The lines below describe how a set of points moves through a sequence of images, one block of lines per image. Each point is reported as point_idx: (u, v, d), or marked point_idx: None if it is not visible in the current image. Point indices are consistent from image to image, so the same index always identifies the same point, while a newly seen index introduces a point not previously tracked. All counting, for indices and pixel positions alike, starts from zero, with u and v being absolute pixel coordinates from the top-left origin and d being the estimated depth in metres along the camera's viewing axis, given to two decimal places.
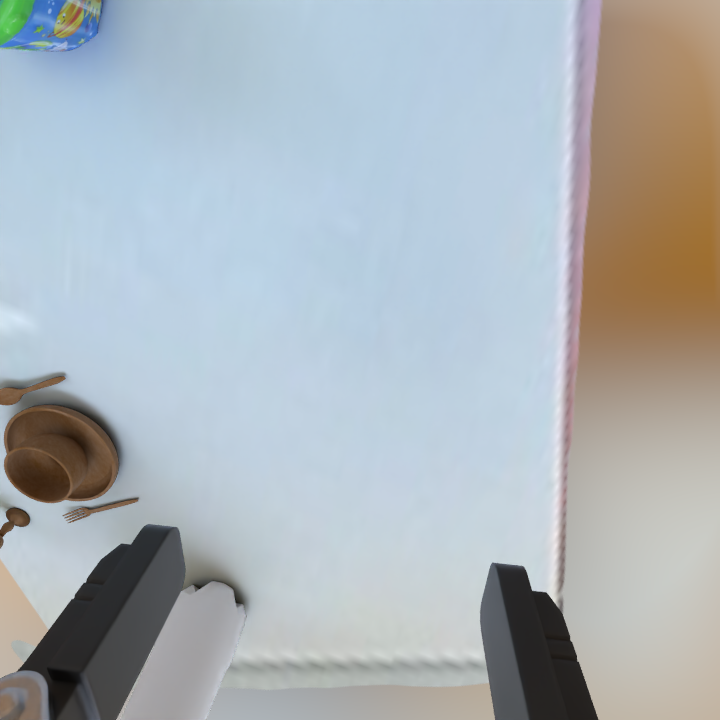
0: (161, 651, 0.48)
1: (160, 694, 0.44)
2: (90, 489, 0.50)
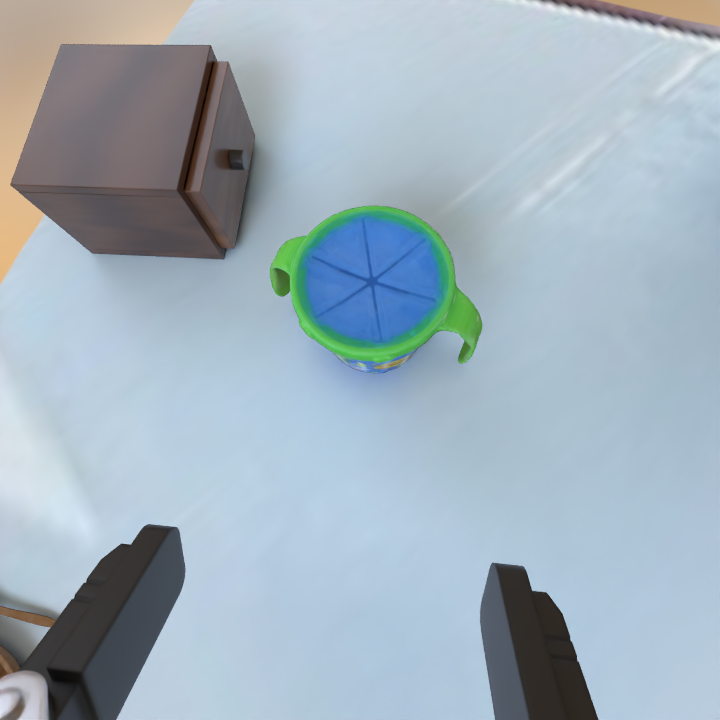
0: None
1: None
2: None
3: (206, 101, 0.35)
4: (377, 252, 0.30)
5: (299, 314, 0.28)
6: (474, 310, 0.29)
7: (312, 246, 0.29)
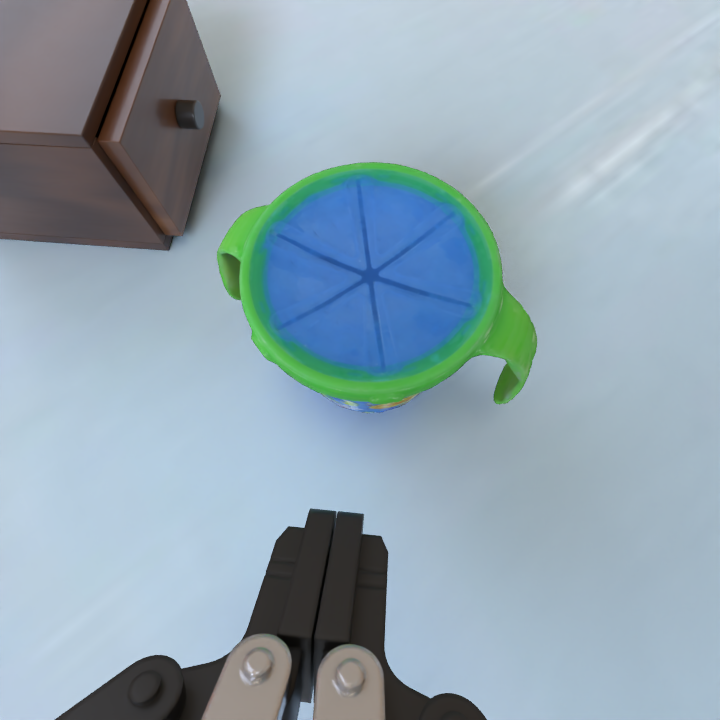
0: None
1: None
2: None
3: (142, 25, 0.25)
4: (378, 231, 0.19)
5: (251, 323, 0.17)
6: (530, 325, 0.18)
7: (279, 218, 0.19)
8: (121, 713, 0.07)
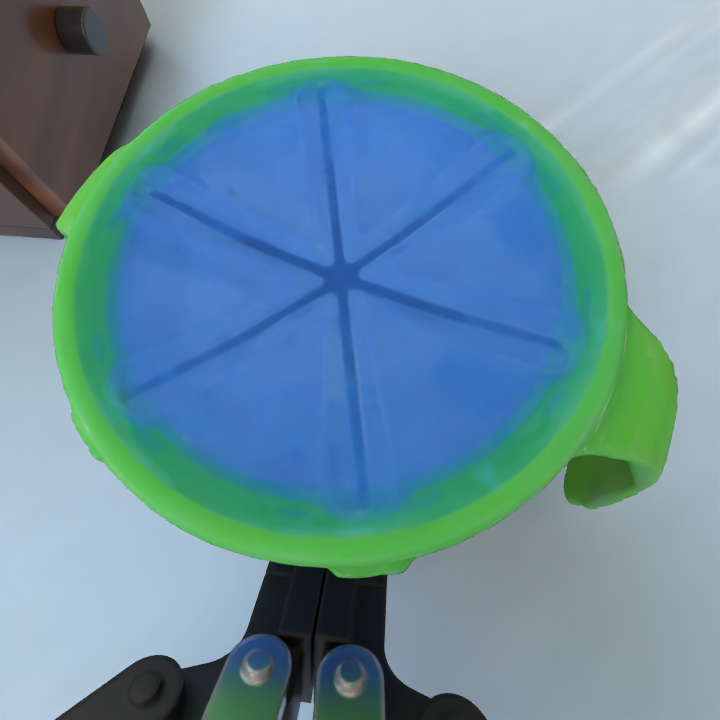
0: None
1: None
2: None
3: None
4: (360, 189, 0.10)
5: (65, 384, 0.08)
6: (674, 383, 0.09)
7: (156, 160, 0.09)
8: (122, 713, 0.07)
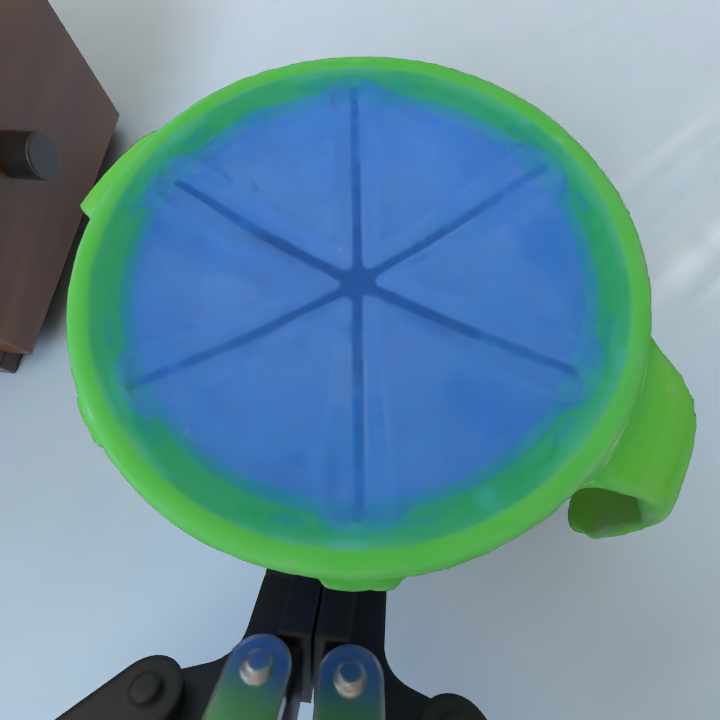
0: None
1: None
2: None
3: None
4: (385, 194, 0.09)
5: (73, 367, 0.08)
6: (693, 420, 0.08)
7: (184, 149, 0.09)
8: (122, 713, 0.07)
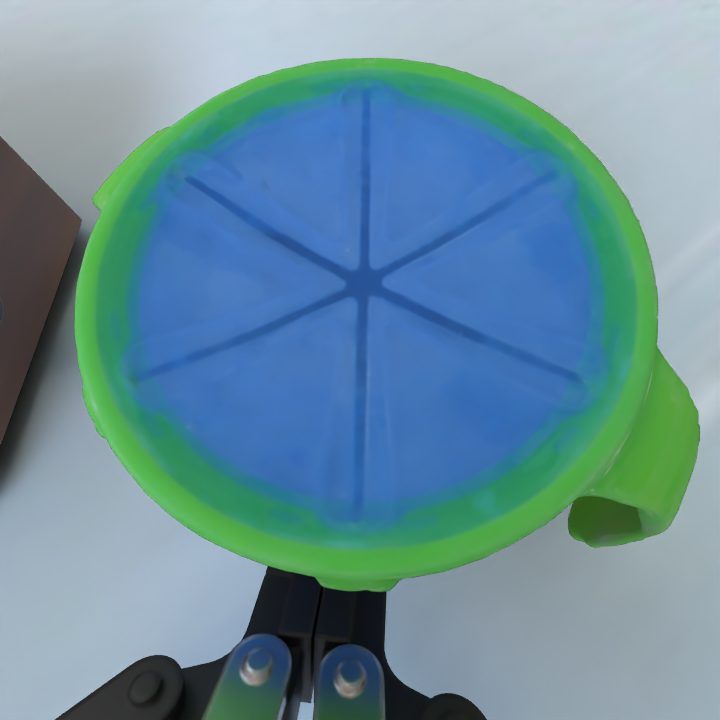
0: None
1: None
2: None
3: None
4: (394, 195, 0.09)
5: (79, 358, 0.08)
6: (697, 432, 0.08)
7: (195, 146, 0.09)
8: (121, 713, 0.07)
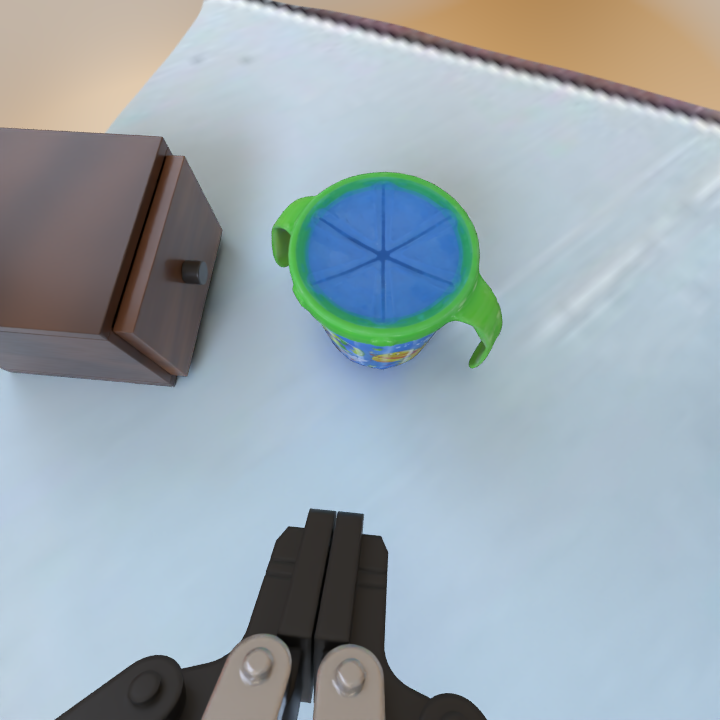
0: None
1: None
2: None
3: (152, 207, 0.28)
4: (394, 224, 0.26)
5: (294, 278, 0.24)
6: (496, 305, 0.25)
7: (322, 206, 0.26)
8: (121, 712, 0.07)
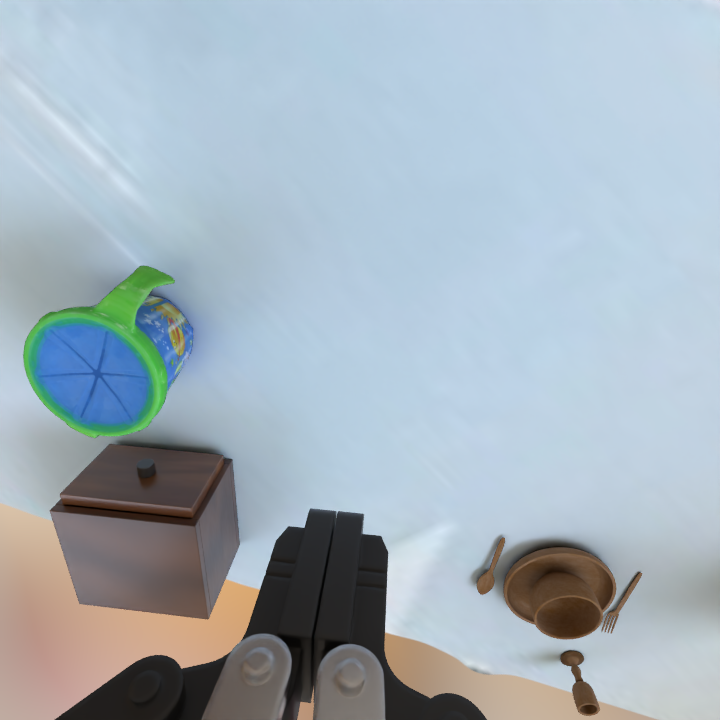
0: None
1: None
2: (600, 595, 0.51)
3: (104, 507, 0.41)
4: (69, 367, 0.34)
5: (130, 432, 0.36)
6: (115, 291, 0.32)
7: (71, 416, 0.36)
8: (122, 712, 0.07)
